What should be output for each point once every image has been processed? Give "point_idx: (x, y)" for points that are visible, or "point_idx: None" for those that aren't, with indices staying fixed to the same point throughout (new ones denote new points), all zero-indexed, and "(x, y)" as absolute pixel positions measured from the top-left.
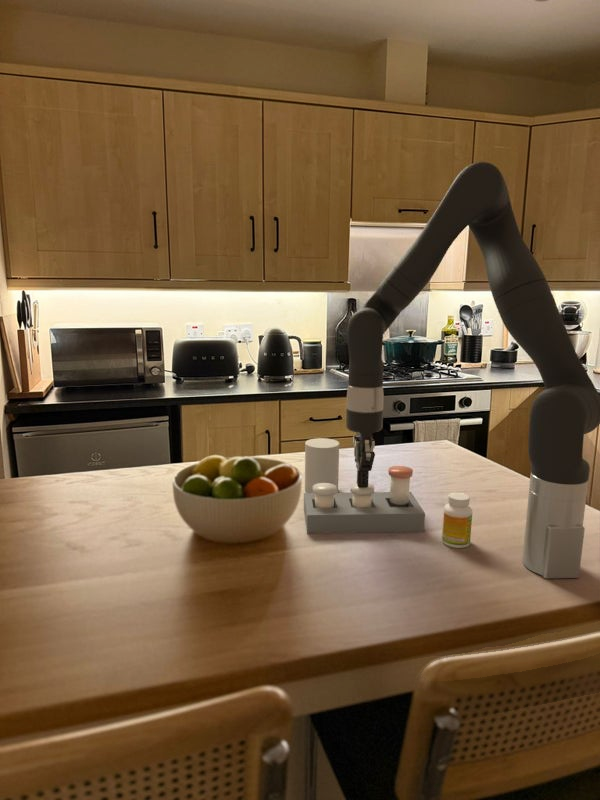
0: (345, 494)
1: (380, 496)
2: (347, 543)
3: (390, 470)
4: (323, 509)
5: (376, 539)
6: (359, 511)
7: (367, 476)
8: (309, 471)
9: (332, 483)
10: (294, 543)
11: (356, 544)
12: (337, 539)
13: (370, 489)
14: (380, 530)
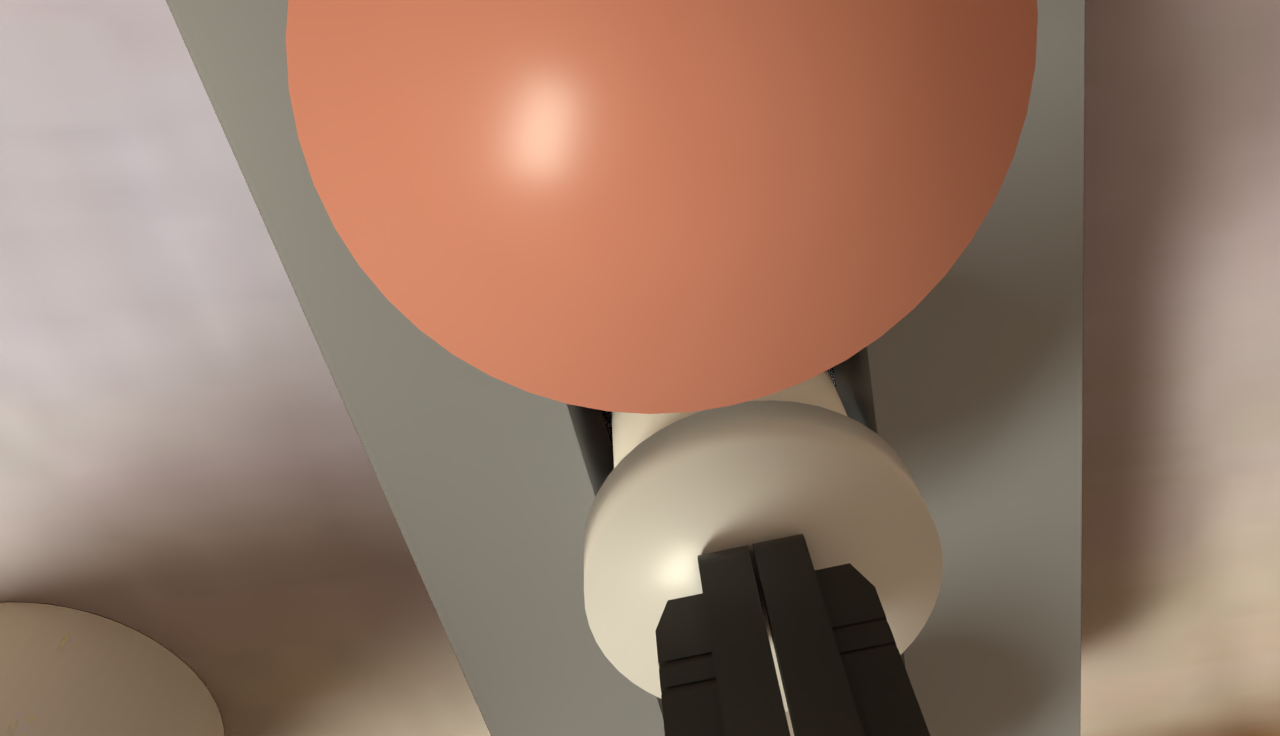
0: (502, 619)
1: None
2: (1210, 399)
3: (780, 368)
4: (949, 733)
5: (1151, 158)
6: (997, 444)
7: (843, 673)
8: None
9: (86, 734)
10: (1169, 715)
11: (1239, 328)
12: (1125, 478)
13: (877, 485)
14: None
